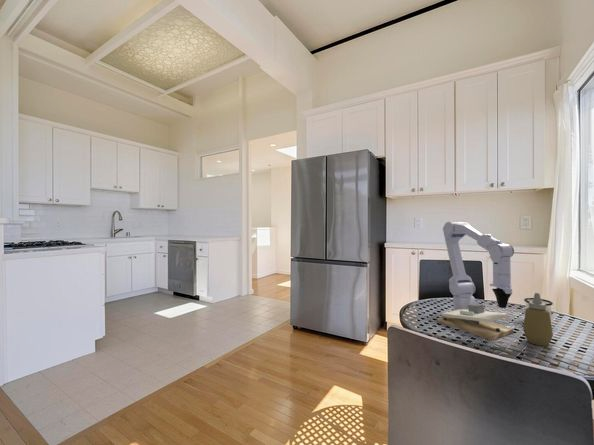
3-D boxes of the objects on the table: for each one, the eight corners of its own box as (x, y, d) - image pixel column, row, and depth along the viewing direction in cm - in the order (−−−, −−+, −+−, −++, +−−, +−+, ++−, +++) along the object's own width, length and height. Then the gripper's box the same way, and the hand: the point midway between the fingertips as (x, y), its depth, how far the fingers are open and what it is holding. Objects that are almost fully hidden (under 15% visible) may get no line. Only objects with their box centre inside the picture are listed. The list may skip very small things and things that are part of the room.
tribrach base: (459, 316, 129) (459, 307, 129) (513, 332, 109) (513, 322, 109) (437, 321, 122) (437, 312, 122) (490, 340, 102) (490, 329, 102)
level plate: (460, 311, 127) (459, 301, 128) (508, 316, 109) (506, 305, 110) (441, 316, 122) (440, 305, 122) (488, 322, 104) (486, 310, 104)
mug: (534, 316, 126) (534, 297, 126) (559, 324, 117) (558, 302, 117) (514, 319, 123) (514, 299, 123) (537, 327, 114) (537, 305, 114)
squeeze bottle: (517, 338, 103) (516, 290, 103) (537, 337, 104) (536, 289, 104) (538, 348, 95) (537, 296, 95) (559, 347, 96) (558, 295, 96)
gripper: (484, 270, 119) (484, 301, 119) (496, 276, 105) (496, 312, 105) (503, 270, 117) (504, 302, 117) (518, 277, 103) (519, 313, 103)
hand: (502, 307), depth 111 cm, fingers closed
